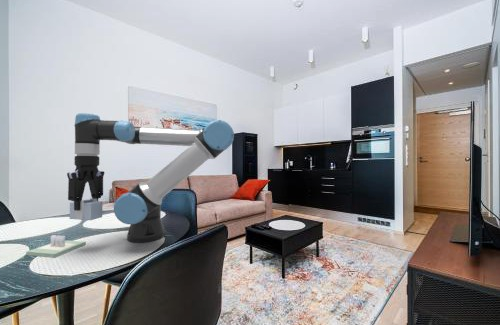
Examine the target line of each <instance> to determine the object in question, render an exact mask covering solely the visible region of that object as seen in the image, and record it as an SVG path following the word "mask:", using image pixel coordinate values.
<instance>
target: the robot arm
mask: <svg viewBox="0 0 500 325" xmlns="http://www.w3.org/2000/svg"><path fill="white" fill-rule="evenodd" d="M74 120H75V121H74V154H75V156H74V166H75V169H74V171H72V172H67V173H66V176H67V178H68V185H67V186H68V187H67V188H68V189H67V195H68V196H67V200H68V201H70V202H74V210H75V219H74V220H78V219H81V221H83V220H82V219H84V201H82V200H83V196H84V192H85V187H86V184H87V183H88V187H89V191H90V197H91V198H89V200H93V201H99V199H101V198H102V196H104V175H105V171H102V170H99V168H98V166H99V165H100V156H99V155H100V151H101V150H100V148H101V146H100V142H101V141H117V142H121V143H126V144H129V145H142V144H143V145H160V146H161V145H162V146H179V147H180V146H182V147H187V148H186V149H185V150H184V151H183V152H181V153H180V154H179V155H178V156H176V157H175V158H174V159H173V160H171V161H170V162H169V163H168V164H167V165H166V166H164V167H163V168H162V169H160V170H159V171H158V172H157V173H156V174H155V175H154V176H152V177H151V178H150V179H149V180H147V181H140V182H139V183H137V184H136V185H133V186H132V188H131V189H130V190H129V191H127V192H126V193H123V194H121V195H120V196H119V197H118V198H116V200H115V202H114V204H113V213H114V215H115V217H116V219H117V220H118V221H119V222H121V223H122V224H125V225H130V226H129V229H128V232H127V235H126V236H127V238H126V240H127V241H128V242H130V243H139V244H140V243H148V242H154V241H157V240H160V239H162V238H163V237H164V236H165V232H166V231H165V228H164V224H163V221H162V219H161V218H162V216H161V211H162V210H161V208H162V207H161V205H162V203H163V198H164V197H165V196H166V195H168V194H169V193H170V192H171V191H172V190H174V189H175V188H176V187H178V185H179V184H181V183H182V182H183V181H184V180H185V179H187V178H188V177H189V176H190V175H192V174H193V172H195V171H196V170H198V169H199V167H200V166H202V165H204V163H205V162H208V160H210V159H211V160H215V159H216V158H217V157H218V156H220V155H221V153H224V151H226V150H228V148H230V147H231V146H232V144H233V142H234V139H235V133H234V129H233V128H232V126H231V125H230V124H229V123H228V122H226V121H225V120H221V119H216V120H211V121H210V122H208V123H207V124H206V125H205V126H204V127H201V128H200V129H185V128H183V129H182V128H165V127H151V126H150V127H149V126H135V125H134V124H133V122H131V121H127V120H105V119H104V120H103V119H101V118H100V115H98V114H94V113H85V112H84V113H83V112H81V113H77V114H76V115H75V118H74Z"/></svg>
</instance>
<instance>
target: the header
mask: <svg viewBox="0 0 500 325" xmlns="http://www.w3.org/2000/svg"><path fill="white" fill-rule="evenodd" d="M86 245H87V243H86V241H80V240H79V241H78V240H68V239H67V240H66V235H60V234H58V235H56V234H53V235H50V243H48V244H45V245H41V246H39V247H36V248H34V249H30V250H27V251H26V253H25V254H26V256H31V257H32V256H33V257H45V258H57V257H60V256H61V255H64V254H66V253H69V252H71V251H74V250H76V249H79V248H82V247H84V246H86Z"/></svg>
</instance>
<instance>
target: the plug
mask: <svg viewBox="0 0 500 325" xmlns="http://www.w3.org/2000/svg"><path fill="white" fill-rule="evenodd" d="M82 201H84V219H82V220H81V219H77V220H79V221H80V220H81V221H92V220H93V221H94V220H96V219H100V218H103V201H99V200H98V201H93V200H90V199H84V200H83V199H82ZM69 220H76V219H75V210H74V201H70V202H69Z"/></svg>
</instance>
